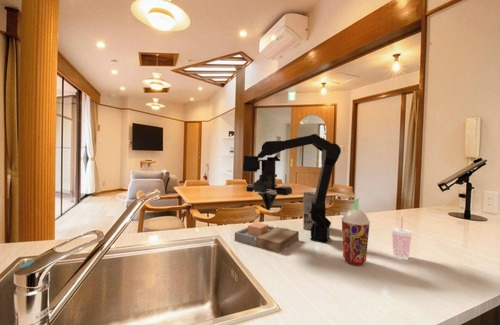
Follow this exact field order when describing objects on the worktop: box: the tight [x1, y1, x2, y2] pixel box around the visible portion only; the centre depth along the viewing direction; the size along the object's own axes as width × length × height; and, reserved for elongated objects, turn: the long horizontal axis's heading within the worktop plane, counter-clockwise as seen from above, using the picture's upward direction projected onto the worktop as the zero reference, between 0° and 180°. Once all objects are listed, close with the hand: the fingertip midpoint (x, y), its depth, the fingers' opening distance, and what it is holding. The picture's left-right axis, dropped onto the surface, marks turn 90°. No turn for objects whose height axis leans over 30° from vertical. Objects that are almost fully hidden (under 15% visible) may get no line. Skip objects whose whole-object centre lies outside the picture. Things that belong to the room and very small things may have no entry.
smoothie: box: [341, 200, 371, 267], centre depth 78 cm, size 8×8×20 cm
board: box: [255, 226, 300, 254], centre depth 95 cm, size 10×16×4 cm, turn 145°
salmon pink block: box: [247, 221, 269, 236], centre depth 100 cm, size 6×6×4 cm
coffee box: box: [302, 191, 316, 230], centre depth 116 cm, size 9×6×16 cm
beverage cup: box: [390, 215, 413, 260], centre depth 83 cm, size 6×6×14 cm
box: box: [234, 225, 275, 247], centre depth 101 cm, size 10×16×3 cm, turn 145°
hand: (268, 210), depth 100 cm, fingers closed
